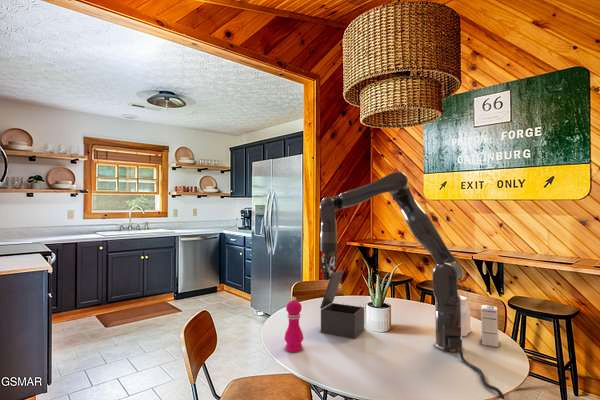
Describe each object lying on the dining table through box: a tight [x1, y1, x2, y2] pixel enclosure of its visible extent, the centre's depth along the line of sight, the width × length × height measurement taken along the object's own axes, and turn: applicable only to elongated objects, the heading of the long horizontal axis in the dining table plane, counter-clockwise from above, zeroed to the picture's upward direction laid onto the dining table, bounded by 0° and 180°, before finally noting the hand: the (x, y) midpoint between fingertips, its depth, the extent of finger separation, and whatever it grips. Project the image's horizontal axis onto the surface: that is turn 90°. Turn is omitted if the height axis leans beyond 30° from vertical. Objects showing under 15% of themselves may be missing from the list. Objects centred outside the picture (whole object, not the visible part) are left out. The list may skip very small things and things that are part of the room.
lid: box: [319, 269, 345, 310], centre depth 157 cm, size 16×13×5 cm
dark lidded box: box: [320, 302, 365, 339], centre depth 154 cm, size 16×13×10 cm
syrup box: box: [480, 304, 499, 348], centre depth 139 cm, size 6×6×14 cm
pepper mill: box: [284, 296, 304, 353], centre depth 134 cm, size 7×7×20 cm
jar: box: [458, 294, 472, 337], centre depth 152 cm, size 12×10×15 cm
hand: (329, 278), depth 157 cm, fingers closed on lid, 5 cm apart
